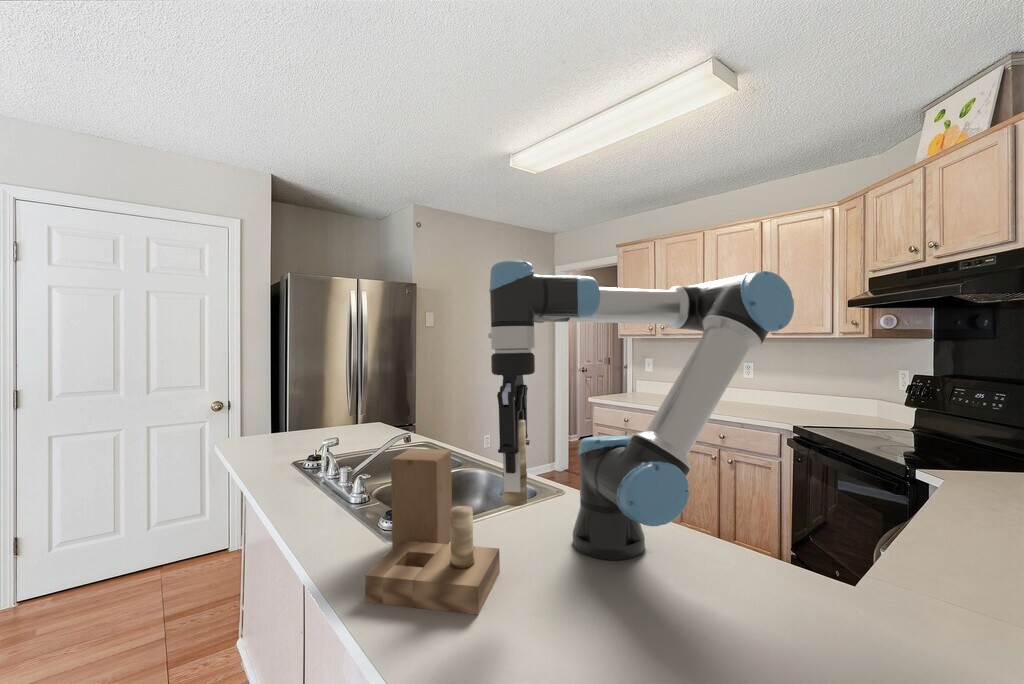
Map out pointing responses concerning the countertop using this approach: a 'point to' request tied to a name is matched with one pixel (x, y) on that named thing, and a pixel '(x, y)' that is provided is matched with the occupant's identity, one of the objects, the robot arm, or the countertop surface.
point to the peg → (521, 496)
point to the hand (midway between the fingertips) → (515, 486)
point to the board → (437, 571)
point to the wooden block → (421, 496)
